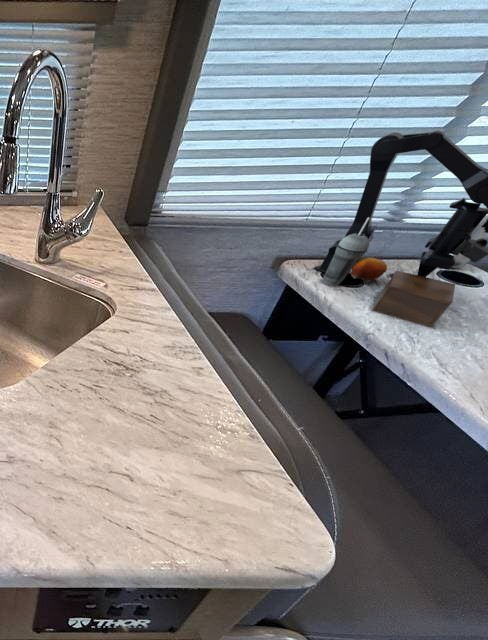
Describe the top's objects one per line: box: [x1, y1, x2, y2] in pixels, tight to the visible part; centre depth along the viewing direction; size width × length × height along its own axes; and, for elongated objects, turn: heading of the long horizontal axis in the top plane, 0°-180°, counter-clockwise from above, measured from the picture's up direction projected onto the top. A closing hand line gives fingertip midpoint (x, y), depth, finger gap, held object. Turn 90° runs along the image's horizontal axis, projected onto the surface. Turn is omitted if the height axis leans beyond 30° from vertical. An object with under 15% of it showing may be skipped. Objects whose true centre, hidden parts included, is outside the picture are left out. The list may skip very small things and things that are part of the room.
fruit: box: [350, 256, 388, 284], centre depth 123 cm, size 8×8×8 cm
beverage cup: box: [321, 218, 370, 287], centre depth 117 cm, size 7×7×20 cm
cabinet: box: [372, 270, 456, 328], centre depth 108 cm, size 14×13×8 cm
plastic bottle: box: [449, 206, 488, 269], centre depth 124 cm, size 6×7×20 cm
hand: (418, 280), depth 115 cm, fingers closed
